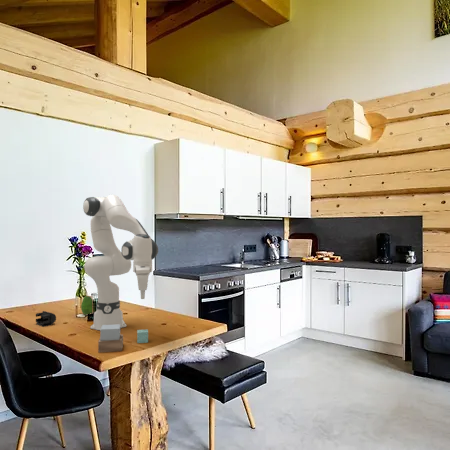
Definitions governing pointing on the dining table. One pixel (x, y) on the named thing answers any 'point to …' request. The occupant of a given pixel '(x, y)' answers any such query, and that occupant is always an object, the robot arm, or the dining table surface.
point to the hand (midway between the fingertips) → (142, 297)
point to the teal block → (142, 336)
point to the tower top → (110, 332)
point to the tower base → (111, 345)
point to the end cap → (45, 319)
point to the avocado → (86, 305)
